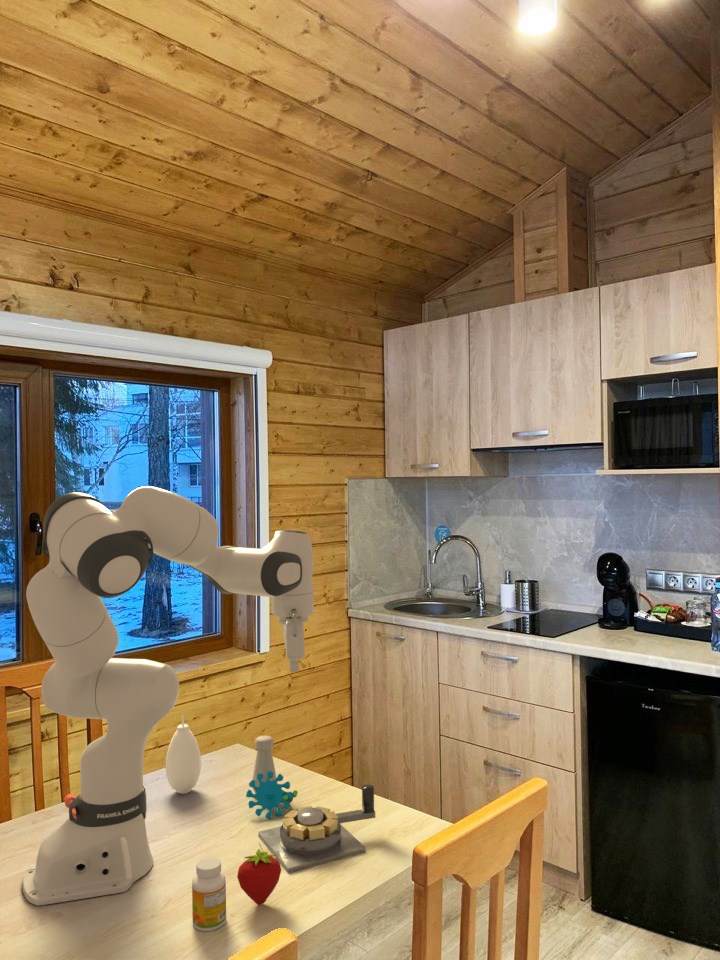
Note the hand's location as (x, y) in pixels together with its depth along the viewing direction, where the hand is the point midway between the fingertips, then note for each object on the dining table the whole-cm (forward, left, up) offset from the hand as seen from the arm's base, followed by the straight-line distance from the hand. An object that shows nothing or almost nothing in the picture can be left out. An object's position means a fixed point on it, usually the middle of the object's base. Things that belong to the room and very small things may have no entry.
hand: (293, 670), depth 161 cm
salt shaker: (-2, +13, -31) cm, 34 cm away
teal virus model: (-4, +4, -31) cm, 32 cm away
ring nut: (+2, -13, -28) cm, 31 cm away
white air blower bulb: (-18, +23, -31) cm, 43 cm away
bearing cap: (-2, -13, -31) cm, 34 cm away
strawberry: (-18, -28, -31) cm, 46 cm away
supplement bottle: (-27, -29, -31) cm, 50 cm away
